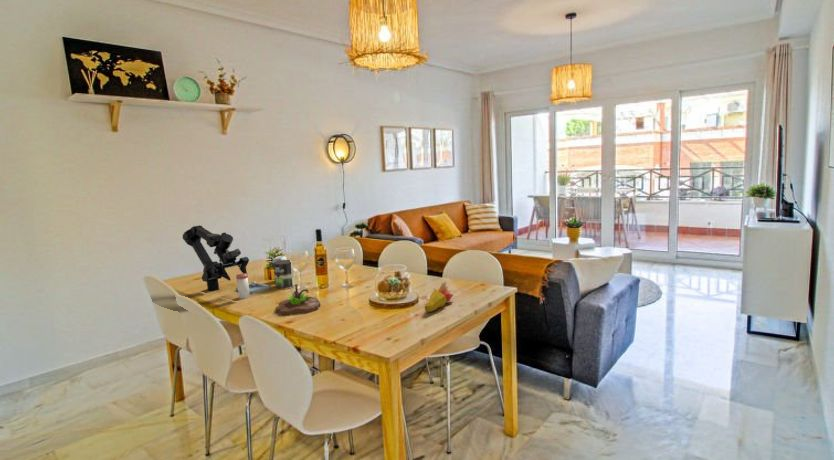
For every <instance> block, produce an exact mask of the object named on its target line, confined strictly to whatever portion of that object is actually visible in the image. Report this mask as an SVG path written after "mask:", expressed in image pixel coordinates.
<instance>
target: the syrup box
mask: <svg viewBox="0 0 834 460" xmlns="http://www.w3.org/2000/svg"><path fill="white" fill-rule="evenodd" d="M280 260H288V259H287V256H284V255H279V256H276V257H274V258H272V264H273V263H274V262H276V261H280ZM272 266H273V265H272ZM273 268H274V266H273Z"/></svg>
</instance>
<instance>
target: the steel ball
mask: <svg viewBox="0 0 834 460" xmlns="http://www.w3.org/2000/svg"><path fill="white" fill-rule="evenodd" d="M257 283H258V282H257V281H255V280H253V281H251V283H250V284H251V285H252V286H253V287H255V286H256V285H257Z"/></svg>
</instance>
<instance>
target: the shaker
mask: <svg viewBox="0 0 834 460" xmlns="http://www.w3.org/2000/svg"><path fill="white" fill-rule="evenodd" d="M235 276H236V277H235V278H236V282H237V287H238V291H237V292H238V293H237V295H238V299H240V300H246V299H248V298H249V299H250V297H251V296H250V295H251V294H250V293H249V284H250V283H249V274H248V273H247V274H246V273H238V274H236V275H235Z"/></svg>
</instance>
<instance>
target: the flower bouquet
mask: <svg viewBox="0 0 834 460" xmlns="http://www.w3.org/2000/svg"><path fill="white" fill-rule="evenodd" d="M448 287H449V286H448V285H447V279H445V280H443V282H441V285H440V287H439V286H438V285H436V286H434V288H433V291H432V293H431V294H430V295H429V296H430V297H429V299H428V301H427V302H426V303H425V304H424V311H425V312H428V313H429V312H433V311H436V310H437V309H439V308H442V307H444V306H445V305H446V303H448V302H450V301H451V299H452V298H453V297H454V294H453V293H452V291H453V290H452V289H449V288H448Z"/></svg>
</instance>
